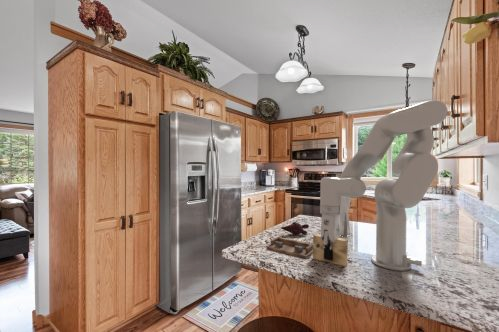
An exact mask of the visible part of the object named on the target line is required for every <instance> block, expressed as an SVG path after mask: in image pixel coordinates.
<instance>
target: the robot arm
mask: <svg viewBox="0 0 499 332" xmlns="http://www.w3.org/2000/svg"><path fill="white" fill-rule="evenodd" d="M448 110H449V108H448V107H447V105H446V103H444V102H443V101H441V100H437V99H431V100H427V101H424V102H420V103H418V104H415V105H412V106H408V107H406V108H402V109H397V110H395V111H391V112H390V113H387V114H385V115H383V116H381V117H380V118H378V119H377V120H376V121H375V123H374V125H373V126H372V127H371V130H370V132H368V135H367V136H366V138H365V139H364V141H363V143H362V145H361V146H360V147H359V149H358V151H357V152H356V153H355V155H354V156H353V157H352V158H351V160H350V161H348V163H347V164H346V165H345V167H344V169H343V171H342V172H341V174H340V176H339V177H335V176H331V177H330V176H324V177H321V180H320V187H319V188H320V194H319V195H320V196H319V197H320V199H319V201H320V203H319V210H320V211H319V213H320V214H321V223H320V234H321V239H322V240H324V241H323V245H324V259H327V260H331V261H332V260H333V250H332V242H333V243H334V242H336V241H337V239H338V238H341V236H340V215H341V196H345V197H351V199H353V198H354V199H356V198H360V197H362V196H363V195H364V194H365V193H366V191H367V186H366V183H365V181H363V180H362V179H361V178H363V176H364V174H365V173H366V172H367V171H368V170H369V169H371V168H372V167H374V166H376V165H378V163H380V162H381V161H382V160H383V159H384V157H385V155H386V154H387V152H388V150H389V149H390V147H391V145H392V144H393V142H394V141H395V139H396V137H398V136H403V135H406V139H405V142H404V145H403V146H402V147H401V149H400V151H399V152H398V154H397V156H396V157H395V159H394V161H393V162H392V165H391V171H392V173H393V175H395V176H396V177H398V178H385V179H384V178H383V179H381V180H379V182H377V184H376V185H375V187H374V199H375V200H374V201H375V205H376V207H375V209H376V223H375V224H376V228H375V229H376V231H375V233H376V234H375V235H376V236H375V239H376V240H375V241H376V242H375V254H374V255H372V256H371V262H372V263H373V264H374V265H376V266H378V267H380V268H384V269H386V270H391V271H398V272H399V271H400V272H402V271H403V272H404V271H409V270H411V268H412V265H415V266H418V267H422V259H418V258H417V257H412V256H410V255H408V252H407V211H406V209H411V208H414V207H416V206H417V205H418V204H419V203H420V202H421V201H422V199H423V198H424V197H425V194H426V193H427V192H428V190H429V189H430V187H431V185H432V183H433V182H434V180H435V178H436V177H437V174H438V173H439V162H438V160H437V158H436V157H435V156H434V155H433V154H432V153H431V151H432V149H433V148H434V145H435V136H434V134H433V131H432V129H431V127H433V126H437V125H439V124H441V123H442V122H443V121H445V120H446V118H447V117H448V113H449V111H448ZM323 237H324V238H323ZM328 239H330V241H329V240H328ZM329 243H330V244H329Z"/></svg>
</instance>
